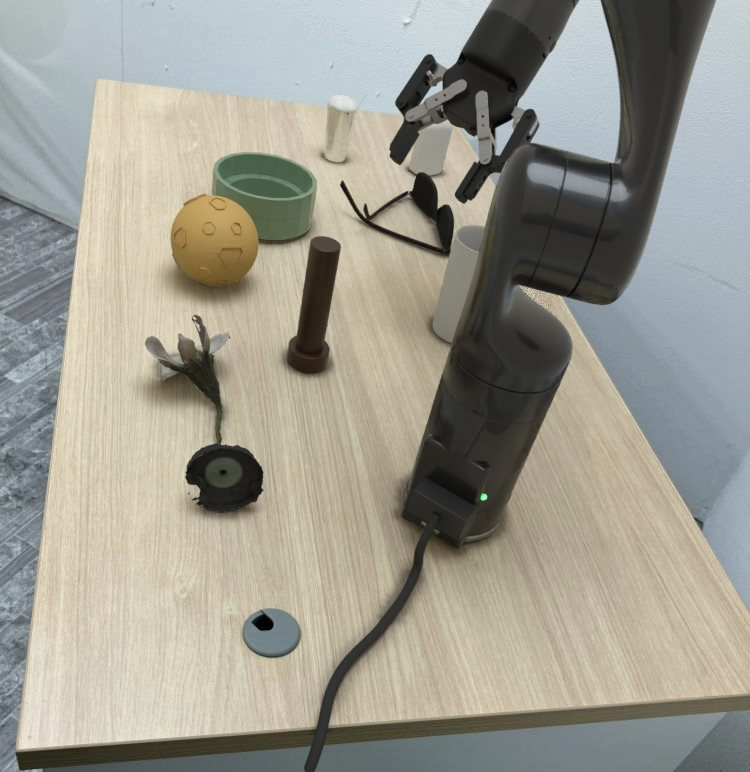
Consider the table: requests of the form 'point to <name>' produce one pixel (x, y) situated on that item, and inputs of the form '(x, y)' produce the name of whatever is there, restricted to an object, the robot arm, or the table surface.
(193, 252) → the stress ball
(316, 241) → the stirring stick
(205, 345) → the artificial flower
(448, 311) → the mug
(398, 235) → the sunglasses
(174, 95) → the table surface
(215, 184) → the bowl
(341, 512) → the table surface
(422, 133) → the eye dropper bottle
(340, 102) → the milkshake
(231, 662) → the table surface
